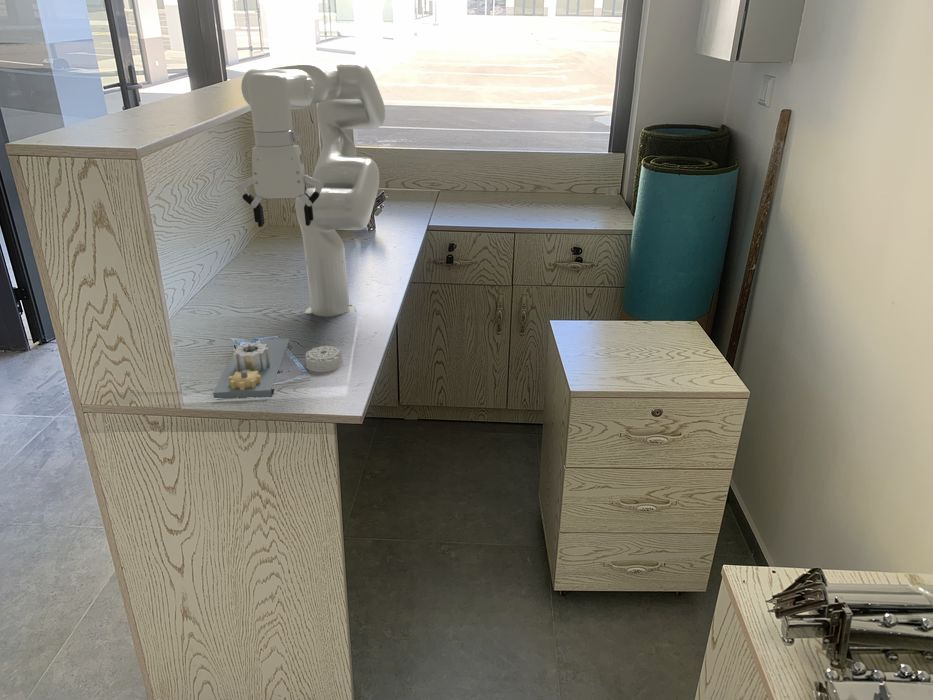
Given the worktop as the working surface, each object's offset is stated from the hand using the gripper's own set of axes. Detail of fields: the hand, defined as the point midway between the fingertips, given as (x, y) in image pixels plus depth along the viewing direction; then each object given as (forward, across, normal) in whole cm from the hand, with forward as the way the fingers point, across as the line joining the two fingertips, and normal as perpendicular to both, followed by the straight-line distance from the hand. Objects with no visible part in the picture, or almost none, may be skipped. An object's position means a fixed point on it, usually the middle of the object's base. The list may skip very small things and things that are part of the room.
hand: (285, 224), depth 144 cm
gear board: (+28, +8, +10) cm, 31 cm away
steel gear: (+27, +8, +12) cm, 30 cm away
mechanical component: (+29, -7, +12) cm, 32 cm away
